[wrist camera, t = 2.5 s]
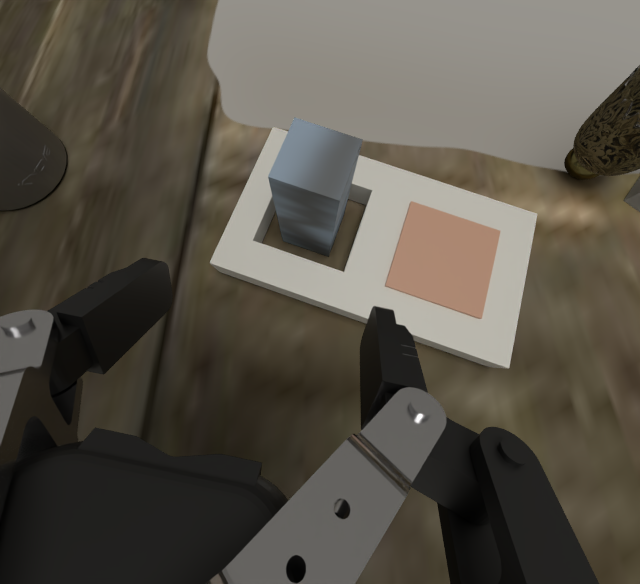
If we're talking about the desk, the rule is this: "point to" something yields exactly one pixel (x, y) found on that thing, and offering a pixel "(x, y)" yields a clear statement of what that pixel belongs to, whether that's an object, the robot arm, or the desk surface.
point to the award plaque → (634, 196)
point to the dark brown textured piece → (609, 135)
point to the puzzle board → (400, 258)
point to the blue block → (313, 184)
